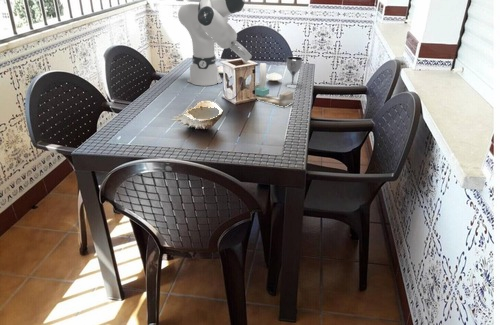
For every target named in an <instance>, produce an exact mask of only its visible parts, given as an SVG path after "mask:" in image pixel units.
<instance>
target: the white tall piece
mask: <svg viewBox="0 0 500 325" xmlns="http://www.w3.org/2000/svg"><path fill="white" fill-rule="evenodd" d="M266 77H267V63H265V62H260V63H259V80H258V81H259V82H258V83H259V88H256V89H255V94H257V95H260V96H265V95H270V88H268V87H266V83H267V82H266V80H267V79H266Z"/></svg>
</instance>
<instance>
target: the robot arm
mask: <svg viewBox="0 0 500 325" xmlns="http://www.w3.org/2000/svg"><path fill="white" fill-rule="evenodd" d="M245 3H246V1H245V0H199V3H198V4H197V3H190V4H183V5H181V6H180V7H179V9H178V12H177V13H178V14H177V15H178V20H179V22H180V24H181V25H182V26H183V27H184V28H185V29H186V30H187V32H188V33H189V36H190V39H191V43H192V58H191V59H192V64H191V65H190V66H189V78H187V79H186V82H187V83H191V84H192V85H195V86H203V87H204V86H205V87H206V86H214V85H216V84H217V83H218V84H222V83H223V79H222V77H221V75H220V73H219V67H218V65H217V64H216V61H217V60H216V55H215V44H216V45H217V46H219V47H220V48H221V49H223V50H224V49H230V50H231V51H233V52H234V53H235V54H236V55H237V56H238V57H239V58H241V60H243V61H244V62H245V63H247V62H249V60H251V59H252V57H253V56H252V54H251V53H250V52H249V50H247V49H246V47H245V46H243V45H242V44H241V43H240V42H239V41H237V40H238V39H237V38H238V33H237V31H236V30H235V29H234V28H233V27H232V25H231V24H229V16H230V15H232V14H235V13H240V12H241V11H242V10H243V8H244V6H245ZM221 82H222V83H221ZM218 84H217V85H218Z"/></svg>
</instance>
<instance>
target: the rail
mask: <svg viewBox="0 0 500 325" xmlns="http://www.w3.org/2000/svg"><path fill="white" fill-rule="evenodd" d="M254 83H255V89H256V88H259V82H254ZM294 94H295V93H294V91H291V90H287V91H283V92H281V93H279V96H278V97H277V96H274V95H271V94H267V95H265V96H260V95H257V94H255V98H257V100H260V101H259V102H261V101H264V102H268V103H272V104H275V105H279V106H283V107H285V106H287V105H289V104H290V103H292V102H293V103H294ZM257 100H256V101H257ZM264 102H263V103H264ZM268 103H267V104H268ZM275 105H274V106H275Z"/></svg>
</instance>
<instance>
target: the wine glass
mask: <svg viewBox="0 0 500 325" xmlns="http://www.w3.org/2000/svg"><path fill="white" fill-rule="evenodd" d="M302 62H303V58H302V57H300V56H293V55H291V56H286V68H287V70H288V72H289V73H290V76H291V83H290V84H291V85H295V84H294V80H295V76H296V75H297V73H298V72H299V71H300V69H301V67H302V64H303V63H302Z"/></svg>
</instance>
